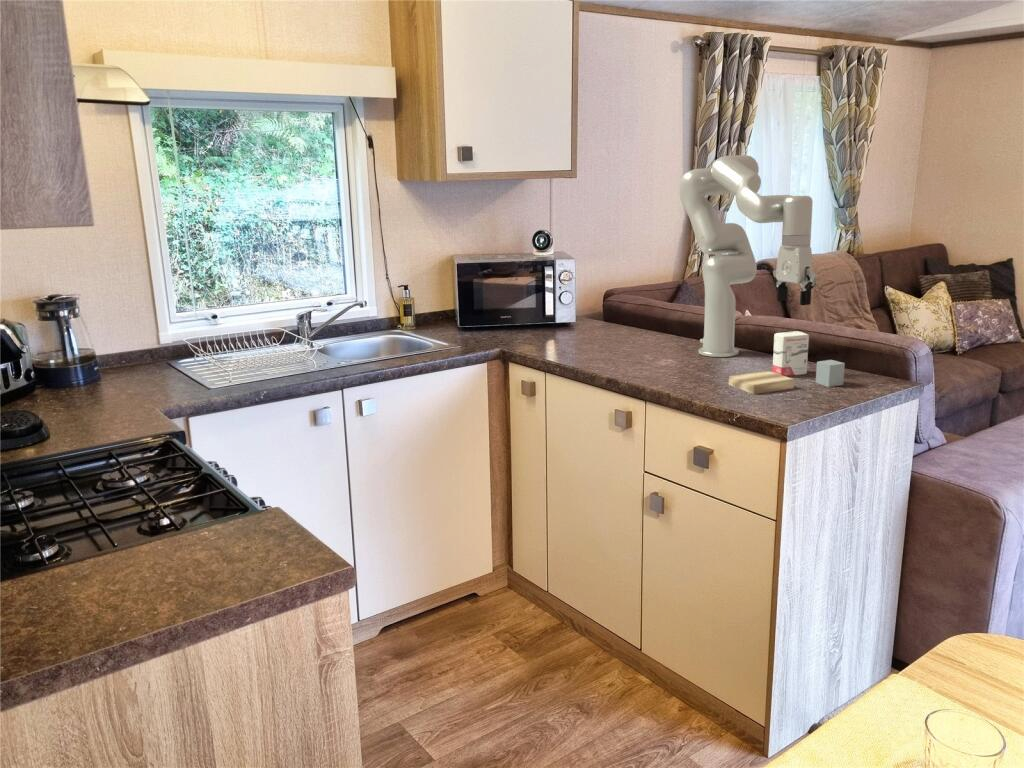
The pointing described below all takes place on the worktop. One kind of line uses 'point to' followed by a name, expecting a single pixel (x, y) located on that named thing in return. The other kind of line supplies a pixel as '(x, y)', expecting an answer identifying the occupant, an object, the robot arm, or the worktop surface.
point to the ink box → (790, 353)
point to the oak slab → (761, 382)
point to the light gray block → (830, 373)
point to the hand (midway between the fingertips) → (793, 302)
